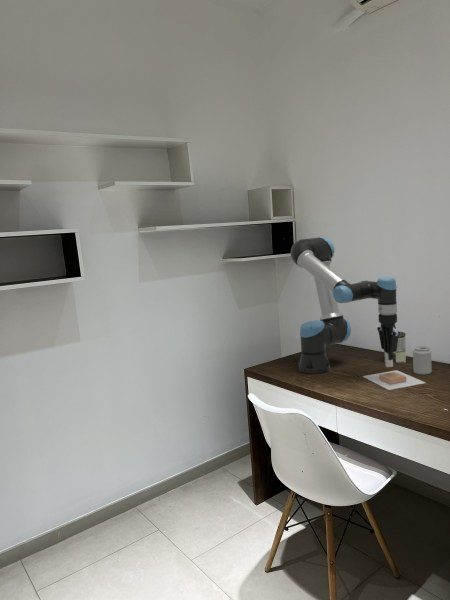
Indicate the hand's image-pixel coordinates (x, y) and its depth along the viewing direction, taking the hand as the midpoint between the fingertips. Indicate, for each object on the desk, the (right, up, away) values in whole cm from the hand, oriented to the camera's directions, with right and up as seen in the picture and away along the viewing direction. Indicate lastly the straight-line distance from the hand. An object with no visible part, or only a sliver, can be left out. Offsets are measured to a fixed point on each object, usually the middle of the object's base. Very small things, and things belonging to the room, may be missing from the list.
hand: (389, 366), depth 201 cm
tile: (0, -4, +2) cm, 5 cm away
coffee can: (+13, -2, +28) cm, 31 cm away
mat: (+2, -6, 0) cm, 7 cm away
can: (+17, -4, +7) cm, 19 cm away
